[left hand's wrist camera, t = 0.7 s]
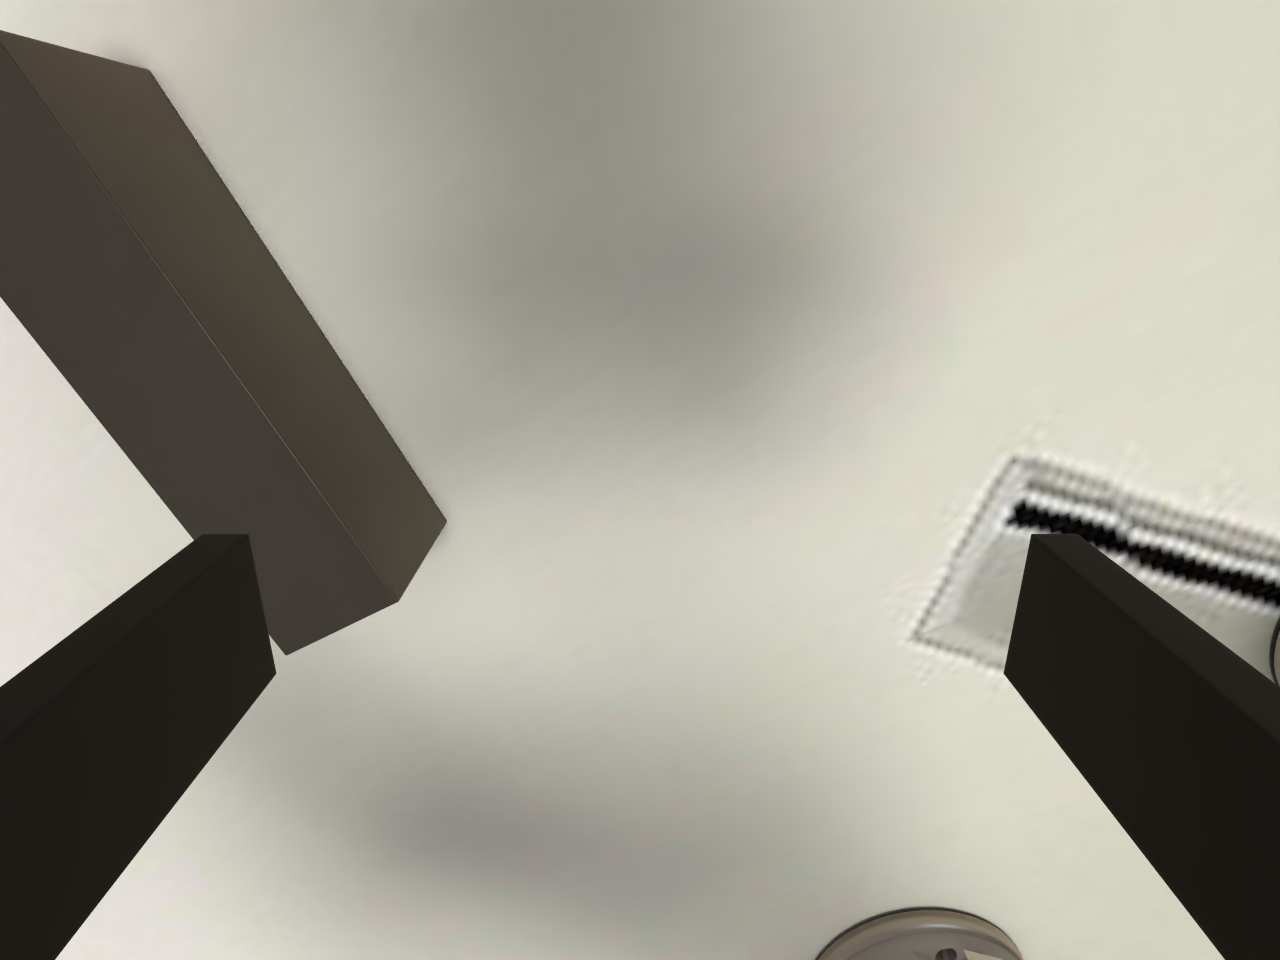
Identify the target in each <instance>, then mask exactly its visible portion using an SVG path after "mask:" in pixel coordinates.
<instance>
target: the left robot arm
mask: <svg viewBox="0 0 1280 960" xmlns="http://www.w3.org/2000/svg"><path fill="white" fill-rule="evenodd" d="M275 675H276V669H275V664H274V659H273V654H272V649H271V644H270V639H269V634H268V629H267V624H266V619H265V614H264V609H263V604H262V599H261V594H260V589H259V584H258V579H257V574H256V569H255V564H254V559H253V554H252V549H251V544H250V539H249V534H202V535H201V536H200V537H198V538H197V539H196V540H194V541H193V542H192V543H190V544H189V545H188V546H186V547H185V548H184V549H182V550H181V551H180V552H178V553H177V554H176V555H174V556H173V557H172V558H171V559H169V560H168V561H167V562H165V563H164V564H163V565H161V566H160V567H159V568H157V569H156V570H155V571H153V572H152V573H151V574H149V575H148V576H147V577H145V578H144V579H143V580H141V581H140V582H139V583H137V584H136V585H135V586H133V587H132V588H131V589H130V590H128V591H127V592H126V593H124V594H123V595H122V596H120V597H119V598H118V599H116V600H115V601H114V602H112V603H111V604H110V605H108V606H107V607H106V608H104V609H103V610H102V611H100V612H99V613H98V614H96V615H95V616H94V617H92V618H91V619H90V620H89V621H87V622H86V623H85V624H83V625H82V626H81V627H79V628H78V629H77V630H75V631H74V632H73V633H71V634H70V635H69V636H67V637H66V638H65V639H63V640H62V641H61V642H59V643H58V644H57V645H55V646H54V647H53V648H51V649H50V650H49V651H48V652H46V653H45V654H44V655H42V656H41V657H40V658H38V659H37V660H36V661H34V662H33V663H32V664H30V665H29V666H28V667H26V668H25V669H24V670H22V671H21V672H20V673H18V674H17V675H16V676H14V677H13V678H12V679H11V680H9V681H8V682H7V683H5V684H4V685H3V686H1V687H0V960H55V959H56V958H57V956H58V955H59V954H60V952H61V951H62V950H63V949H64V947H65V946H66V945H67V943H68V942H69V941H70V940H71V938H72V937H73V936H74V934H75V933H76V932H77V930H78V929H79V928H80V927H81V925H82V924H83V923H84V921H85V920H86V919H87V918H88V916H89V915H90V914H91V912H92V911H93V910H94V908H95V907H96V906H97V905H98V903H99V902H100V901H101V899H102V898H103V897H104V896H105V894H106V893H107V892H108V890H109V889H110V888H111V887H112V885H113V884H114V883H115V881H116V880H117V879H118V877H119V876H120V875H121V874H122V872H123V871H124V870H125V868H126V867H127V866H128V865H129V863H130V862H131V861H132V859H133V858H134V857H135V855H136V854H137V853H138V852H139V850H140V849H141V848H142V846H143V845H144V844H145V843H146V841H147V840H148V839H149V837H150V836H151V835H152V834H153V832H154V831H155V830H156V828H157V827H158V826H159V824H160V823H161V822H162V821H163V819H164V818H165V817H166V815H167V814H168V813H169V812H170V810H171V809H172V808H173V806H174V805H175V804H176V803H177V801H178V800H179V799H180V797H181V796H182V795H183V793H184V792H185V791H186V790H187V788H188V787H189V786H190V784H191V783H192V782H193V781H194V779H195V778H196V777H197V775H198V774H199V773H200V771H201V770H202V769H203V768H204V766H205V765H206V764H207V762H208V761H209V760H210V759H211V757H212V756H213V755H214V753H215V752H216V751H217V750H218V748H219V747H220V746H221V744H222V743H223V742H224V740H225V739H226V738H227V737H228V735H229V734H230V733H231V731H232V730H233V729H234V728H235V726H236V725H237V724H238V722H239V721H240V720H241V718H242V717H243V716H244V715H245V713H246V712H247V711H248V709H249V708H250V707H251V706H252V704H253V703H254V702H255V700H256V699H257V698H258V697H259V695H260V694H261V693H262V691H263V690H264V689H265V687H266V686H267V685H268V684H269V682H270V681H271V680H272V678H273V677H274V676H275ZM1004 675H1005V676H1006V677H1007V678H1008V680H1009V681H1010V682H1011V684H1012V685H1013V686H1014V687H1015V689H1016V690H1017V691H1018V693H1019V694H1020V695H1021V697H1022V698H1023V699H1024V700H1025V702H1026V703H1027V704H1028V706H1029V707H1030V708H1031V709H1032V711H1033V712H1034V713H1035V715H1036V716H1037V717H1038V718H1039V720H1040V721H1041V722H1042V724H1043V725H1044V726H1045V728H1046V729H1047V730H1048V731H1049V733H1050V734H1051V735H1052V737H1053V738H1054V739H1055V740H1056V742H1057V743H1058V744H1059V746H1060V747H1061V748H1062V750H1063V751H1064V752H1065V753H1066V755H1067V756H1068V757H1069V759H1070V760H1071V761H1072V762H1073V764H1074V765H1075V766H1076V768H1077V769H1078V770H1079V771H1080V773H1081V774H1082V775H1083V777H1084V778H1085V779H1086V781H1087V782H1088V783H1089V784H1090V786H1091V787H1092V788H1093V790H1094V791H1095V792H1096V793H1097V795H1098V796H1099V797H1100V799H1101V800H1102V801H1103V803H1104V804H1105V805H1106V806H1107V808H1108V809H1109V810H1110V812H1111V813H1112V814H1113V815H1114V817H1115V818H1116V819H1117V821H1118V822H1119V823H1120V824H1121V826H1122V827H1123V828H1124V830H1125V831H1126V832H1127V834H1128V835H1129V836H1130V837H1131V839H1132V840H1133V841H1134V843H1135V844H1136V845H1137V846H1138V848H1139V849H1140V850H1141V852H1142V853H1143V854H1144V855H1145V857H1146V858H1147V859H1148V861H1149V862H1150V863H1151V865H1152V866H1153V867H1154V868H1155V870H1156V871H1157V872H1158V874H1159V875H1160V876H1161V877H1162V879H1163V880H1164V881H1165V883H1166V884H1167V885H1168V887H1169V888H1170V889H1171V890H1172V892H1173V893H1174V894H1175V896H1176V897H1177V898H1178V899H1179V901H1180V902H1181V903H1182V905H1183V906H1184V907H1185V908H1186V910H1187V911H1188V912H1189V914H1190V915H1191V916H1192V918H1193V919H1194V920H1195V921H1196V923H1197V924H1198V925H1199V927H1200V928H1201V929H1202V930H1203V932H1204V933H1205V934H1206V936H1207V937H1208V938H1209V940H1210V941H1211V942H1212V943H1213V945H1214V946H1215V947H1216V949H1217V950H1218V951H1219V952H1220V954H1221V955H1222V956H1223V958H1224V959H1225V960H1280V687H1279V686H1277V685H1276V684H1275V683H1273V682H1272V681H1271V680H1269V679H1268V678H1267V677H1266V676H1264V675H1263V674H1262V673H1260V672H1259V671H1258V670H1256V669H1255V668H1254V667H1252V666H1251V665H1250V664H1248V663H1247V662H1246V661H1244V660H1243V659H1242V658H1240V657H1239V656H1238V655H1236V654H1235V653H1234V652H1232V651H1231V650H1230V649H1229V648H1227V647H1226V646H1225V645H1223V644H1222V643H1221V642H1219V641H1218V640H1217V639H1215V638H1214V637H1213V636H1211V635H1210V634H1209V633H1207V632H1206V631H1205V630H1203V629H1202V628H1201V627H1199V626H1198V625H1197V624H1195V623H1194V622H1193V621H1191V620H1190V619H1189V618H1188V617H1186V616H1185V615H1184V614H1182V613H1181V612H1180V611H1178V610H1177V609H1176V608H1174V607H1173V606H1172V605H1170V604H1169V603H1168V602H1166V601H1165V600H1164V599H1162V598H1161V597H1160V596H1158V595H1157V594H1156V593H1154V592H1153V591H1152V590H1150V589H1149V588H1148V587H1147V586H1145V585H1144V584H1143V583H1141V582H1140V581H1139V580H1137V579H1136V578H1135V577H1133V576H1132V575H1131V574H1129V573H1128V572H1127V571H1125V570H1124V569H1123V568H1121V567H1120V566H1119V565H1117V564H1116V563H1115V562H1113V561H1112V560H1111V559H1109V558H1108V557H1107V556H1106V555H1104V554H1103V553H1102V552H1100V551H1099V550H1098V549H1096V548H1095V547H1094V546H1092V545H1091V544H1090V543H1088V542H1087V541H1086V540H1084V539H1083V538H1082V537H1080V536H1079V535H1078V534H1031V539H1030V544H1029V549H1028V554H1027V559H1026V564H1025V569H1024V574H1023V579H1022V584H1021V589H1020V594H1019V599H1018V604H1017V609H1016V614H1015V619H1014V624H1013V629H1012V634H1011V639H1010V644H1009V649H1008V654H1007V659H1006V664H1005V669H1004Z"/></svg>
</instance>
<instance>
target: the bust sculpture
mask: <svg viewBox="0 0 1280 960" xmlns="http://www.w3.org/2000/svg"><path fill="white" fill-rule="evenodd" d="M1274 668H1275V674H1276V678H1277V681H1278V684H1279V686H1280V632H1279V635H1278V638H1277V642H1276V646H1275V653H1274Z"/></svg>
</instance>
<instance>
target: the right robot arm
mask: <svg viewBox="0 0 1280 960" xmlns="http://www.w3.org/2000/svg"><path fill="white" fill-rule="evenodd" d="M818 960H1023V958H1022V956H1021V954H1020V952H1019V950H1018V949H1017V947H1016V946H1015V944H1014V943H1013V942H1012V941H1011V940H1010V939H1009V938H1008V937H1007V936H1006V935H1005V934H1004V933H1003V932H1002V931H1000V930H999V929H997V928H996V927H994V926H993V925H991V924H989V923H987V922H985V921H983V920H980V919H978V918H975V917H972V916H969V915H966V914H962V913H957V912H951V911H942V910H917V911H908V912H901V913H896V914H891V915H888V916H884V917H881V918H878V919H875V920H872V921H870V922H867V923H865V924H863V925H861V926H858V927H857V928H855V929H853V930H851V931H849V932H848V933H846V934H845V935H843V936H842V937H840V938H839V939H838V940H837V941H835V942H834V943H833V944H832V945H831V946H830V947H829V948H828V949H827V950H826V951H825V952H824V953H823V954H822V955H821V956H820V958H819V959H818Z"/></svg>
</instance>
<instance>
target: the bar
mask: <svg viewBox="0 0 1280 960" xmlns="http://www.w3.org/2000/svg"><path fill="white" fill-rule="evenodd" d="M0 297H1V298H2V299H3V301H4V302H5V303H6V304H7V306H8V307H9V308H10V309H11V311H12V312H13V313H14V314H15V316H16V317H17V318H18V319H19V321H20V322H21V323H22V325H23V326H24V327H25V328H26V330H27V331H28V332H29V333H30V335H31V336H32V337H33V338H34V340H35V341H36V342H37V343H38V345H39V346H40V347H41V348H42V350H43V351H44V352H45V353H46V355H47V356H48V357H49V358H50V360H51V361H52V362H53V363H54V365H55V366H56V367H57V369H58V370H59V371H60V372H61V374H62V375H63V376H64V377H65V379H66V380H67V381H68V382H69V384H70V385H71V386H72V387H73V389H74V390H75V391H76V392H77V394H78V395H79V396H80V397H81V399H82V400H83V401H84V402H85V404H86V405H87V406H88V407H89V409H90V410H91V411H92V413H93V414H94V415H95V416H96V418H97V419H98V420H99V421H100V423H101V424H102V425H103V426H104V428H105V429H106V430H107V431H108V433H109V434H110V435H111V436H112V438H113V439H114V440H115V441H116V443H117V444H118V445H119V446H120V448H121V449H122V450H123V451H124V453H125V454H126V455H127V457H128V458H129V459H130V460H131V462H132V463H133V464H134V465H135V467H136V468H137V469H138V470H139V472H140V473H141V474H142V475H143V477H144V478H145V479H146V480H147V482H148V483H149V484H150V485H151V487H152V488H153V489H154V490H155V492H156V493H157V494H158V495H159V497H160V498H161V499H162V500H163V502H164V503H165V504H166V506H167V507H168V508H169V509H170V511H171V512H172V513H173V514H174V516H175V517H176V518H177V519H178V521H179V522H180V523H181V524H182V526H183V527H184V528H185V529H186V531H187V532H188V533H189V534H190V536H191V537H192V538H193V539H194V540H196V539H197V538H198V537H200V536H201V535H202V534H249V539H250V544H251V549H252V554H253V559H254V564H255V569H256V574H257V579H258V584H259V589H260V594H261V599H262V604H263V609H264V614H265V619H266V624H267V629H268V634H269V635H270V636H271V638H272V639H273V640H274V641H275V643H276V644H277V645H278V646H279V648H280V649H281V650H282V651H283V653H284V654H285V655H289V654H291V653H293V652H295V651H297V650H299V649H301V648H303V647H305V646H307V645H309V644H311V643H314V642H316V641H318V640H320V639H322V638H324V637H326V636H328V635H330V634H332V633H334V632H336V631H338V630H340V629H343V628H345V627H347V626H349V625H351V624H353V623H355V622H357V621H359V620H361V619H363V618H365V617H367V616H370V615H372V614H374V613H376V612H378V611H380V610H382V609H384V608H386V607H388V606H390V605H392V604H394V603H396V602H398V601H399V600H400V598H401V597H402V595H403V593H404V592H405V590H406V588H407V587H408V585H409V583H410V582H411V580H412V578H413V577H414V575H415V573H416V572H417V570H418V569H419V567H420V565H421V564H422V562H423V560H424V559H425V557H426V555H427V554H428V552H429V550H430V549H431V547H432V545H433V544H434V542H435V541H436V539H437V537H438V536H439V534H440V532H441V531H442V529H443V527H444V526H445V524H446V522H447V521H446V520H445V518H444V517H443V515H442V514H441V512H440V511H439V509H438V508H437V506H436V505H435V503H434V502H433V500H432V499H431V497H430V496H429V494H428V492H427V491H426V489H425V488H424V486H423V485H422V483H421V482H420V480H419V479H418V477H417V476H416V474H415V473H414V471H413V470H412V468H411V467H410V465H409V464H408V462H407V461H406V459H405V458H404V456H403V455H402V453H401V452H400V450H399V449H398V447H397V446H396V444H395V442H394V441H393V439H392V438H391V436H390V435H389V433H388V432H387V430H386V429H385V427H384V426H383V424H382V423H381V421H380V420H379V418H378V417H377V415H376V414H375V412H374V411H373V409H372V408H371V406H370V405H369V403H368V402H367V400H366V399H365V397H364V395H363V394H362V392H361V391H360V389H359V388H358V386H357V385H356V383H355V382H354V380H353V379H352V377H351V376H350V374H349V373H348V371H347V370H346V368H345V367H344V365H343V364H342V362H341V361H340V359H339V358H338V356H337V355H336V353H335V352H334V350H333V349H332V347H331V345H330V344H329V342H328V341H327V339H326V338H325V336H324V335H323V333H322V332H321V330H320V329H319V327H318V326H317V324H316V323H315V321H314V320H313V318H312V317H311V315H310V314H309V312H308V311H307V309H306V308H305V306H304V305H303V303H302V302H301V300H300V299H299V297H298V295H297V294H296V292H295V291H294V289H293V288H292V286H291V285H290V283H289V282H288V280H287V279H286V277H285V276H284V274H283V273H282V271H281V270H280V268H279V267H278V265H277V264H276V262H275V261H274V259H273V258H272V256H271V255H270V253H269V252H268V250H267V249H266V247H265V245H264V244H263V242H262V241H261V239H260V238H259V236H258V235H257V233H256V232H255V230H254V229H253V227H252V226H251V224H250V223H249V221H248V220H247V218H246V217H245V215H244V214H243V212H242V211H241V209H240V208H239V206H238V205H237V203H236V202H235V200H234V199H233V197H232V195H231V194H230V192H229V191H228V189H227V188H226V186H225V185H224V183H223V182H222V180H221V179H220V177H219V176H218V174H217V173H216V171H215V170H214V168H213V167H212V165H211V164H210V162H209V161H208V159H207V158H206V156H205V155H204V153H203V152H202V150H201V148H200V147H199V145H198V144H197V142H196V141H195V139H194V138H193V136H192V135H191V133H190V132H189V130H188V129H187V127H186V126H185V124H184V123H183V121H182V120H181V118H180V117H179V115H178V114H177V112H176V111H175V109H174V108H173V106H172V105H171V103H170V102H169V100H168V98H167V97H166V95H165V94H164V92H163V91H162V89H161V88H160V86H159V85H158V83H157V82H156V80H155V79H154V77H153V76H152V74H151V73H150V71H149V70H147V69H143V68H139V67H135V66H132V65H128V64H124V63H121V62H117V61H113V60H109V59H106V58H102V57H98V56H95V55H91V54H87V53H83V52H80V51H76V50H72V49H69V48H65V47H61V46H57V45H54V44H50V43H46V42H43V41H39V40H35V39H31V38H28V37H24V36H20V35H16V34H13V33H9V32H5V31H2V30H0Z"/></svg>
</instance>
